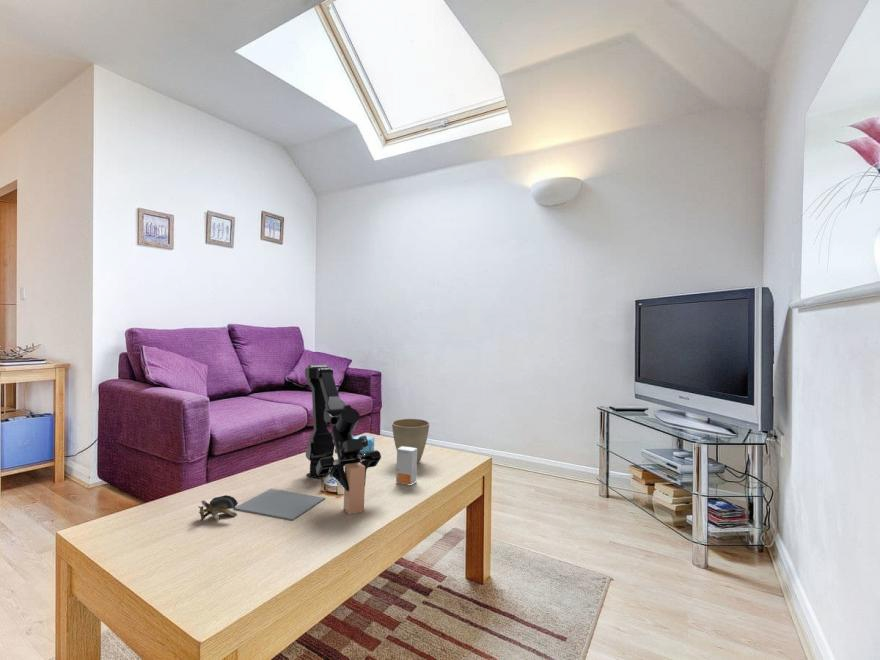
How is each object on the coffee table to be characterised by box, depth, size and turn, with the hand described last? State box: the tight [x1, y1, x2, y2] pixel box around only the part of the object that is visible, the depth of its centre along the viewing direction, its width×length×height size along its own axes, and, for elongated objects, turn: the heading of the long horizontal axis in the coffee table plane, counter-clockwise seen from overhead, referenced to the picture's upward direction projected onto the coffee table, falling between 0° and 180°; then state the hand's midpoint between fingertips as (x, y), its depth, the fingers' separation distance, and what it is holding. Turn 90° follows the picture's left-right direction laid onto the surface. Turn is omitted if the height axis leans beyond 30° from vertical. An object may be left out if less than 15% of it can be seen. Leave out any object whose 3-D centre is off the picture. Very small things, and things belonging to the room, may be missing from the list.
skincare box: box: [395, 446, 418, 485], centre depth 149 cm, size 6×4×12 cm
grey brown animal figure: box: [197, 494, 239, 523], centre depth 118 cm, size 8×7×9 cm
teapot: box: [352, 434, 375, 456], centre depth 183 cm, size 12×6×8 cm, turn 64°
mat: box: [233, 488, 326, 521], centre depth 129 cm, size 16×20×1 cm
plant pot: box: [391, 418, 430, 463], centre depth 171 cm, size 15×15×16 cm
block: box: [343, 462, 366, 515], centre depth 126 cm, size 4×4×13 cm
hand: (356, 488), depth 125 cm, fingers closed on block, 4 cm apart
